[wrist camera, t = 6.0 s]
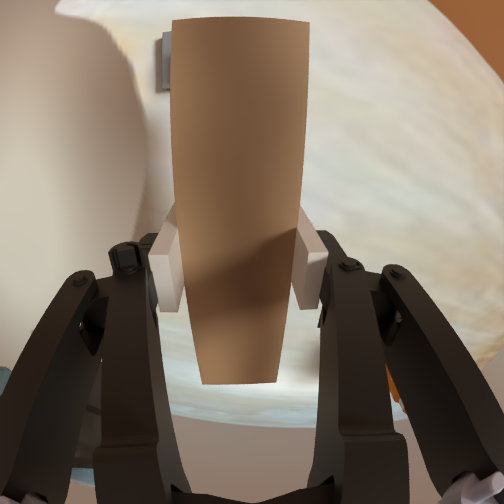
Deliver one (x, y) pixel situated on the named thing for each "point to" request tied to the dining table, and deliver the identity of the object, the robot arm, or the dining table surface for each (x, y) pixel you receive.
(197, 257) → the walnut bar
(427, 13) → the dining table surface
